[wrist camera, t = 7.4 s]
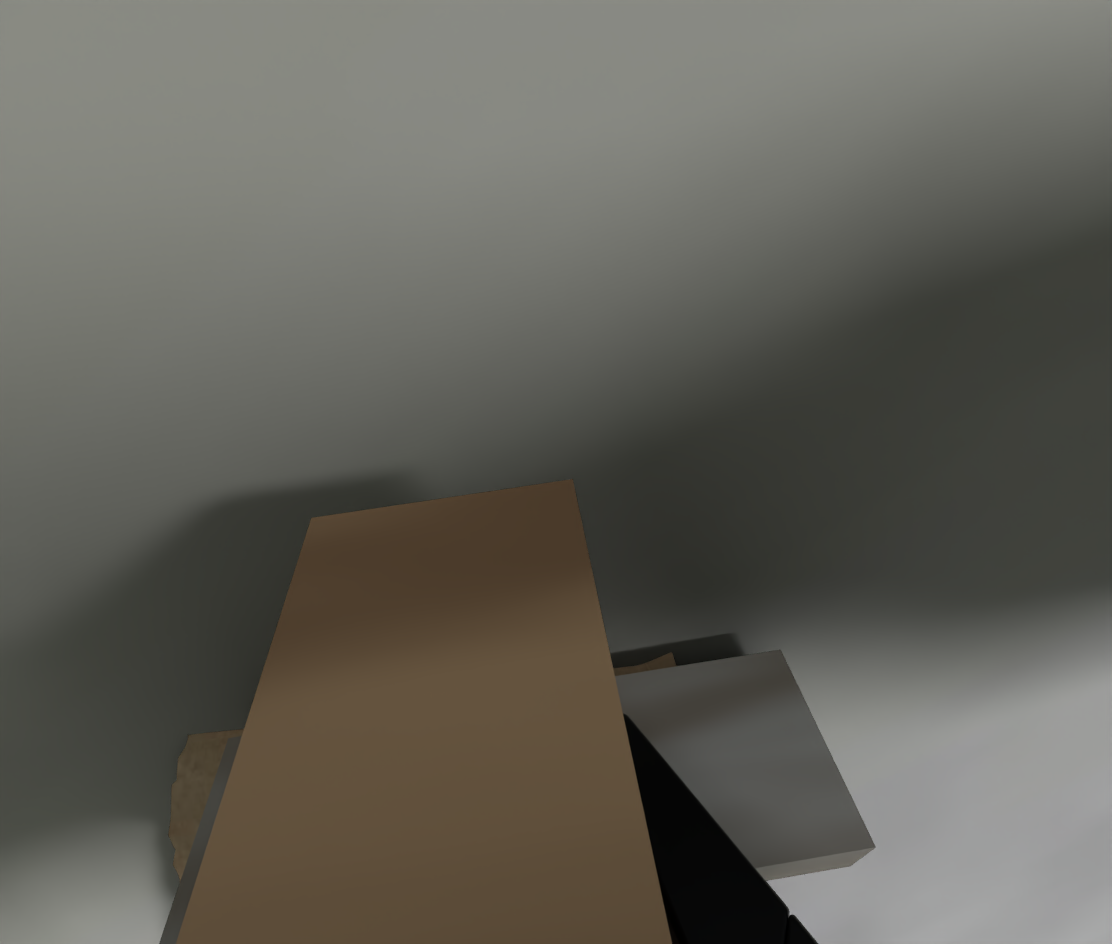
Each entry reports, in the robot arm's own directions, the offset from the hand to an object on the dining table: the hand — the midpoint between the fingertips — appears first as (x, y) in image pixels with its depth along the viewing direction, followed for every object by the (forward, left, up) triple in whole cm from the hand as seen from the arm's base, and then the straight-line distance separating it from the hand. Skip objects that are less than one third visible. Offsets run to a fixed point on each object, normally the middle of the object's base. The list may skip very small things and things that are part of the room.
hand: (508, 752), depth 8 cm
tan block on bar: (0, -2, 0) cm, 2 cm away
